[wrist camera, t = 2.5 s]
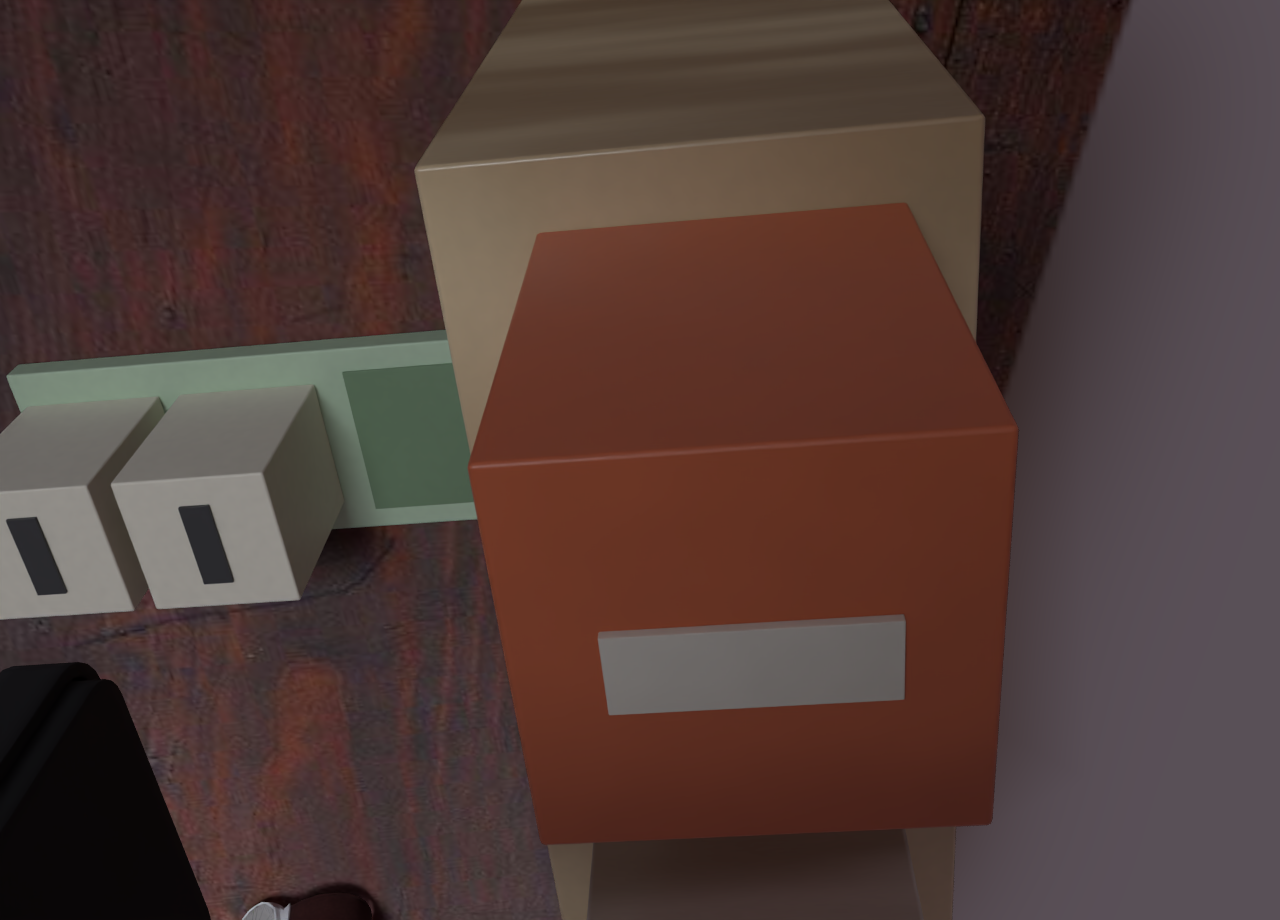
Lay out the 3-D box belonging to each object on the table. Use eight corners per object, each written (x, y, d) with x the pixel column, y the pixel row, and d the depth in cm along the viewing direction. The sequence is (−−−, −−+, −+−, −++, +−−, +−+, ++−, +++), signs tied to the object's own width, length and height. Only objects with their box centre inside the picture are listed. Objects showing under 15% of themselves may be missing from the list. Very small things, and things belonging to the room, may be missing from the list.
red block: (536, 231, 13) (463, 472, 9) (908, 200, 13) (1023, 432, 9) (580, 536, 15) (538, 856, 11) (903, 515, 15) (995, 835, 11)
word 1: (17, 363, 36) (-93, 465, 31) (522, 322, 34) (495, 421, 29) (85, 533, 39) (-6, 652, 34) (551, 500, 37) (531, 619, 32)
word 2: (563, -67, 29) (272, 384, 8) (813, -93, 29) (1153, 313, 8) (625, 438, 36) (548, 1363, 15) (827, 423, 36) (1027, 1356, 15)
